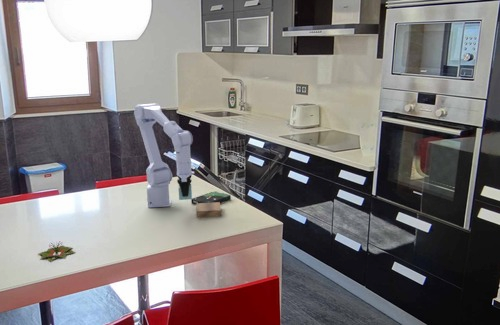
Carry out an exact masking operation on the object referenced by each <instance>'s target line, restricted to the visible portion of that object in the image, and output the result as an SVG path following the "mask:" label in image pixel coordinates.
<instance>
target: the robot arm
mask: <svg viewBox="0 0 500 325" xmlns="http://www.w3.org/2000/svg"><path fill="white" fill-rule="evenodd" d="M133 115H134V118H135V122H136V125H137V127H139V131H140V134H141V137H142V141H143V144H144V148H145V151H146V155H147V158H148V161H149V165H148V166H147V168H146V170H145V173H146V180H147V183H148V185H147V186H146V195H147V198H146V201H147V208H162V207H163V208H164V207H171V204H172V203H171V202H172V200H171V198H170V188H169V187H170V186H169V185H170V184H171V182H172V180H173V173H172V172H173V171H171V168H170V167H169V165H168V164H167V163H166V162H164V161H163V160H162V155H161V154H160V153H161V152H160V149H159V146H158V143H157V139H156V136H155V132H154V128H153V125H154V124H156V123H158V124H159V125H161V127H163V132H164V133H165V134H166V135H167V136H168V137H169V138H170V139H171V142H172V146H173V148H174V149H173V150H174V152H175V160H176V176H177V180H176V181H177V184H178V187H179V186H180V188H181V192H182V196H183V197H187V196H188V193H189V186H190V184H192V175H195V171H192V158H191V145H192V144H193V141H194V139H193V138H194V137H193V135H192V132H190V131H189V130H184V129H183V128H181V126H179V125H178V123H177V122H176V121H175V120H169V118H168V117H167V116H166V115H165V114H164V113H163V111H162V107H161V105H159V104H158V103H157V102H154V103H153V102H152V103H145V104H136V105H135V107H134V112H133Z"/></svg>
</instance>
